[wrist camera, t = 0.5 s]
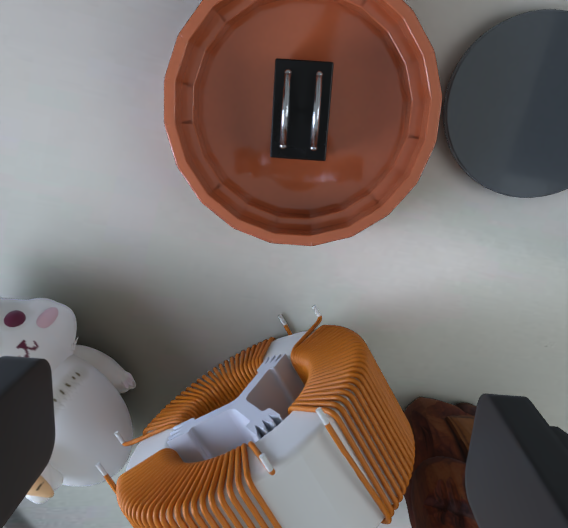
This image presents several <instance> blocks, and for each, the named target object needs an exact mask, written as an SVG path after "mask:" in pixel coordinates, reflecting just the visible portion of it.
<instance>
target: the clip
mask: <svg viewBox="0 0 568 528" xmlns="http://www.w3.org/2000/svg"><path fill="white" fill-rule="evenodd" d="M333 68H334V63H333V62H328V61H312V60H297V59H281V58H276V59H275V72H274V90H273V108H272V126H271V144H270V157H271V158H284V159H299V160H314V161H325V160H326V152H327V140H328V128H329V116H330V104H331V92H332V80H333Z"/></svg>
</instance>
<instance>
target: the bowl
mask: <svg viewBox="0 0 568 528" xmlns="http://www.w3.org/2000/svg"><path fill="white" fill-rule="evenodd" d="M276 58H281V59H297V60H312V61H328V62H333V63H334V68H333V80H332V92H331V104H330V116H329V128H328V140H327V152H326V160H325V161H314V160H299V159H284V158H271V157H270V144H271V126H272V108H273V90H274V72H275V59H276ZM441 105H442V91H441V85H440V79H439V73H438V68H437V62H436V56H435V52H434V49H433V47H432V45H431V43H430V41H429V39H428V37H427V35H426V34H425V32H424V30H423V28H422V26H421V24H420V22H419V20H418V18H417V17H416V15H415V13H414V11H413V10H412V8H411V7H409V6H408V5H407V4H406V3H405V2H404V1H403V0H202V2H201V3H200V5H199V6H198V7H197V9H196V10H195V12H194V13H193V14H192V16H191V17H190V19H189V20H188V22H187V23H186V24H185V26H184V27H183V29H182V30H181V31H180V33H179V35H178V37H177V40H176V43H175V46H174V49H173V52H172V56H171V59H170V62H169V65H168V68H167V71H166V75H165V80H164V124H165V125H164V126H165V129H166V132H167V136H168V139H169V142H170V146H171V149H172V152H173V155H174V159H175V162H176V165H177V167H178V169H179V170H180V172H181V173H182V175H183V176H184V178H185V179H186V181H187V182H188V184H189V185H190V187H191V188H192V190H193V191H194V193H195V194H196V196H197V197H198V199H199V200H200V201H201V202H202V203H203V204H204V205H205V206H206V207H208V208H209V209H210V210H211V211H213V212H214V213H215V214H216V215H217V216H219V217H220V218H221V219H222V220H224V221H225V222H226V223H227V224H229V225H230V226H231V227H234V229H236V230H239V231H242V232H244V233H247V234H249V235H252V236H254V237H257V238H259V239H262V240H264V241H267V242H269V243H271V242H272V243H275V244H289V245H303V246H315V245H319V244H323V243H328V242H332V241H336V240H340V239H345V238H349V237H352V236H354V235H356V234H357V233H359V232H361V231H362V230H364V229H366V228H367V227H369V226H371V225H373V224H374V223H376V222H378V221H379V220H381V219H383V218H384V217H386V216H387V215H389V214H390V213H391V212H392V211H393V210H394V208H395V207H396V206H397V205H398V204H399V203H400V202H401V201H402V200H403V199H404V197H405V196H406V195H407V194H408V193H409V192H410V191H411V190H412V189H413V187H414V186H415V185H416V184H417V182H418V181H419V179H420V176H421V174H422V172H423V170H424V168H425V166H426V164H427V161H428V159H429V157H430V155H431V153H432V151H433V149H434V146H435V144H436V141H437V134H438V127H439V119H440V112H441Z"/></svg>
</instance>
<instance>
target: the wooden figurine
mask: <svg viewBox="0 0 568 528" xmlns="http://www.w3.org/2000/svg"><path fill="white" fill-rule="evenodd" d="M476 408H477V406H475V405H472V404H470V403H457V404H456V405H453V404H449V403H446V402H443V401H439V400H436V399H431V398H424V397H419V398H417V399H416V400H414V402H413V403H411V404H410V405H408V406H407V408H406V410H405V412H404V414H405V416H406V418H407V419H408V422H409V423H410V426H411V429H412V433H413V435H414V441H415V445H414V446H415V458H414V465H413V471H412V473H411V475H412V476H411V479H410V480H409V485H408V486H407V488H406V493H405V494H404V497H405V500H406V504H407V508H408V513H409V519H410V523H411V526H412V528H479V527H478V524H477V522H476V520H475V517H474V515H473V512H472V510H471V507H470V505H469V502H468V499H467V494H466V487H465V468H466V462H467V456H468V451H469V445H470V440H471V435H472V429H473V424H474V418H475V413H476Z"/></svg>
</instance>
